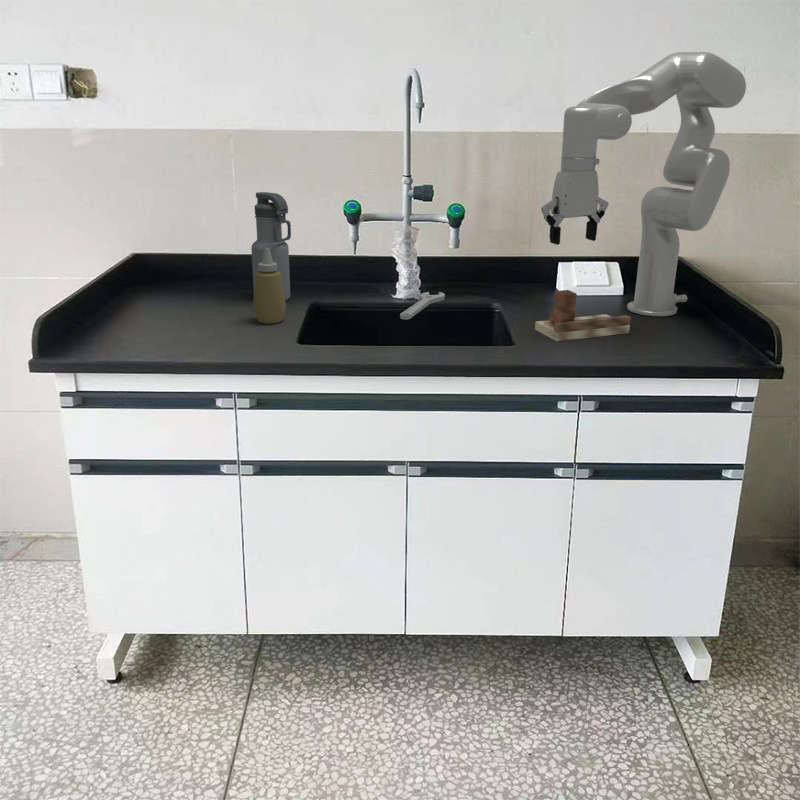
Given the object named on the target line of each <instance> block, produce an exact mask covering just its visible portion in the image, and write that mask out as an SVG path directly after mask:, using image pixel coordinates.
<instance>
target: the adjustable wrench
mask: <svg viewBox="0 0 800 800" xmlns="http://www.w3.org/2000/svg"><path fill="white" fill-rule="evenodd" d="M445 298H446V294H445V293H444V292H441V291H439V292H438V294H430V292H429V291H426V292H423V293H420V294H418V300H419V301H417V302H416V303H414V304H413V305H412V306H410V307H408V308H407V309H406V310H404V311H403V312H401V313H400V315H399V318H400V319H401V320H410V319H412V318H413V317H415V315H417V314H418V313H420V312H421V311H422V310H424V309H425V308H427V307H428V306H429V305H430V304H434V303H437V302H442V301H444V300H445Z"/></svg>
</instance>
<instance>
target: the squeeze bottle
mask: <svg viewBox="0 0 800 800" xmlns="http://www.w3.org/2000/svg"><path fill="white" fill-rule="evenodd" d="M252 308H253V312H254V313H255V316H256V318H257V321H258V322H259V323H262V324H268V325H269V324H270V325H271V324H277V323H281V322H282V321H283V319H284V315H285V311H286V309H287V303H286V301H285V296H284V289H283V282H282V275H281V273H280V272H279V271H277V263H276V262H273V261H272V257H271V253H270V249H269V248H264V254H263V260H262V262H261V263H258V272H257V273H256V274H255V281H254V286H253V305H252Z"/></svg>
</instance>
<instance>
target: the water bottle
mask: <svg viewBox="0 0 800 800" xmlns="http://www.w3.org/2000/svg"><path fill="white" fill-rule="evenodd" d="M255 198H256V200H257V201H256V202H257V203H256V204H255V205H254V215H255V216H254V218H255V224H256V226H255V227H256V240H255V241H254V242H253V243H252V245H251V249H250V250H251V266H252V281H253V282H252V284H253V287H254V281H255V274H256V273H257V272H258V263H261V262H262V260H263V254H264V248H269V249H270V253H271V257H272V261H273V262H276V263H277V271H279V272H280V273H281V275H282V282H283V289H284V296H285V302H287V301H288V300H289V299H290V298H291V281H290V280H291V279H290V278H291V277H290V275H291V273H290V257H289V256H290V255H289V253H290V252H289V251H290V250H289V245H288V243H287V242H286V241H290V239H291V237H292V227H291V221H290V220H287V219H286V216H287V215H286V214H288V213H289V207H288V204H287V200H286V199H285V198H284V197H283V196H282V195H280V194H279V193H276V192H268V191H267V192H266V191H258V192H255ZM270 201H271V202H270ZM282 224H286V225H287V235H286V237H284V238H283V234H282V233H283V232H282V229H283V228H282V227H283V226H282Z"/></svg>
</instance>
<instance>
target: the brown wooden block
mask: <svg viewBox="0 0 800 800" xmlns="http://www.w3.org/2000/svg"><path fill="white" fill-rule="evenodd" d="M576 305H577V293H576V292H574V291H572V290H569V289H565V290H564V289H562V290H555V291H554V301H553V312H552V313H549V316H548V317H549V319H548V320H550V321H552V324H553V325H555V323H559V322H568V321H574V318H575V316H576Z"/></svg>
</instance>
